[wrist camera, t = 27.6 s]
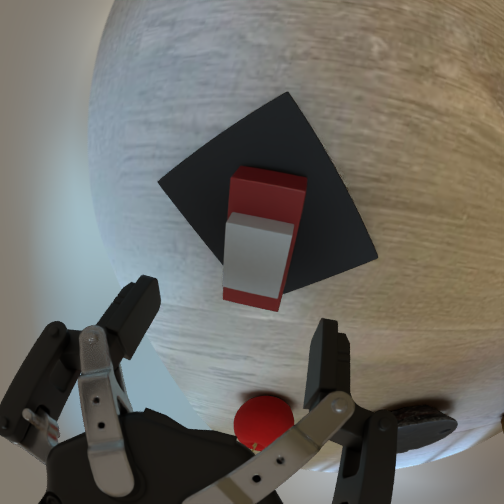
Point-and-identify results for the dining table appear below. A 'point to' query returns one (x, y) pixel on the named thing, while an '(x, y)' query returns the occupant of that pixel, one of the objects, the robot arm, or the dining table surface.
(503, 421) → the yellow fluted pedestal
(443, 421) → the board
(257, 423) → the fruit
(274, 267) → the red and grey block
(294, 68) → the dining table surface
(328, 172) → the mat
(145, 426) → the robot arm
